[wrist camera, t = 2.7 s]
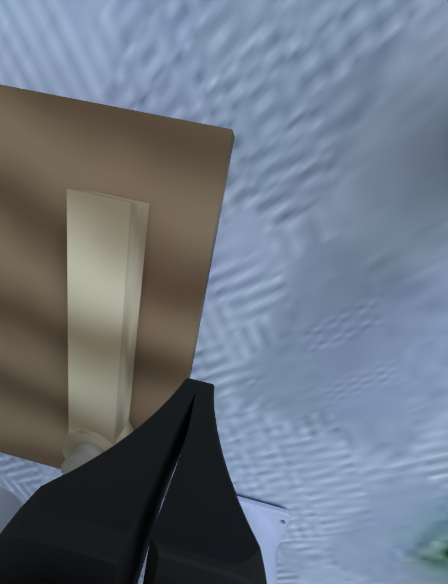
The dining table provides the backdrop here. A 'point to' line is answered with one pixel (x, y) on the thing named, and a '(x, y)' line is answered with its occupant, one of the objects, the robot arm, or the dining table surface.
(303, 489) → the dining table surface
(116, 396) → the swing bar
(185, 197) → the base board
